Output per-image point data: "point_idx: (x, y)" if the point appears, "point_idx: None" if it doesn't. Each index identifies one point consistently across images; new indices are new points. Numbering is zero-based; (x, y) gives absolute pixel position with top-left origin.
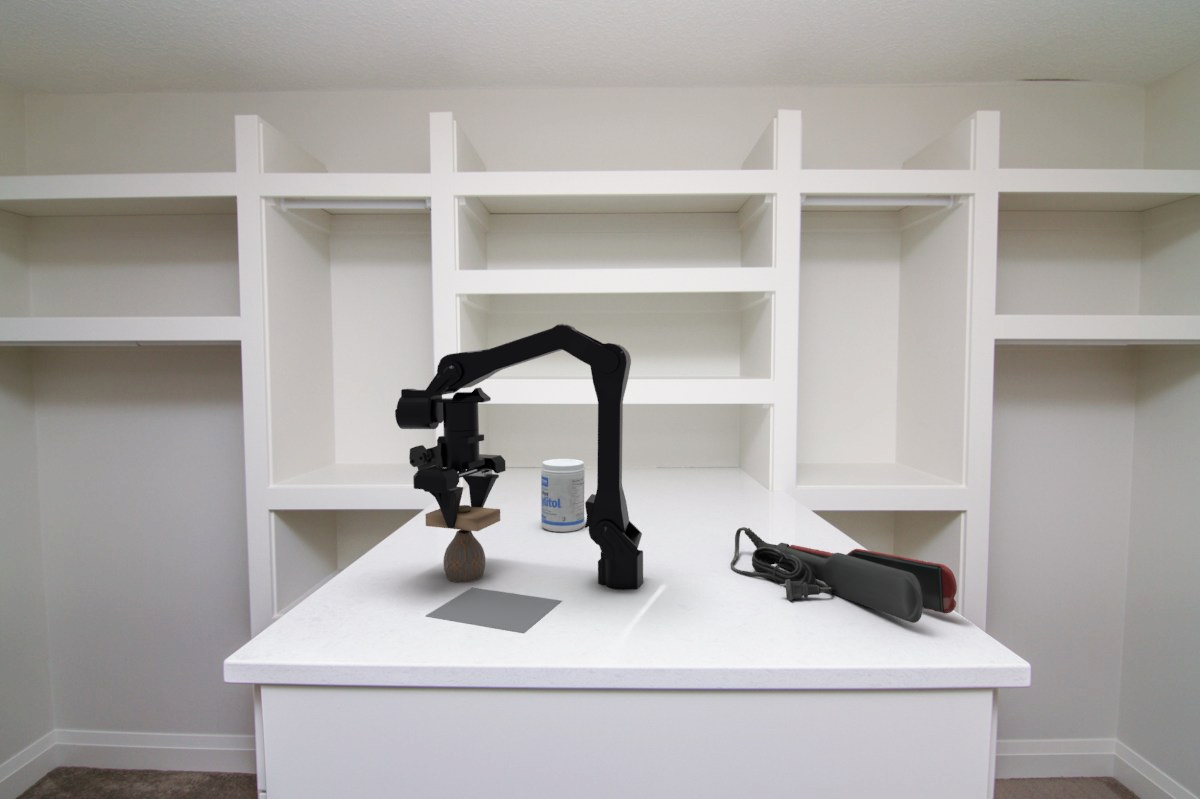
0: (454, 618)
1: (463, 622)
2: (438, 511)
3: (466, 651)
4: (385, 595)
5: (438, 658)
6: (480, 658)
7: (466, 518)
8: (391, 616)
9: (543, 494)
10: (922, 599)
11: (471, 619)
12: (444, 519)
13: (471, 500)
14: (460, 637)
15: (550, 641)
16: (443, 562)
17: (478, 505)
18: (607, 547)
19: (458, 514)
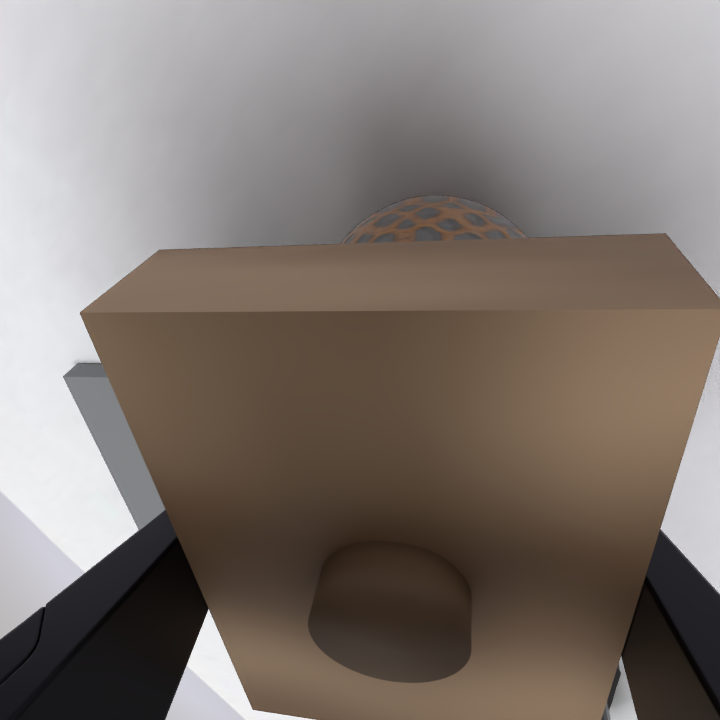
0: (114, 454)
1: (116, 482)
2: (263, 384)
3: (67, 513)
4: (104, 6)
5: (7, 483)
6: (71, 543)
7: (232, 658)
8: (19, 229)
9: None
10: None
11: (143, 490)
12: (149, 522)
13: (682, 659)
14: (96, 478)
15: (210, 614)
16: (348, 238)
17: (635, 660)
18: None
19: (281, 593)
